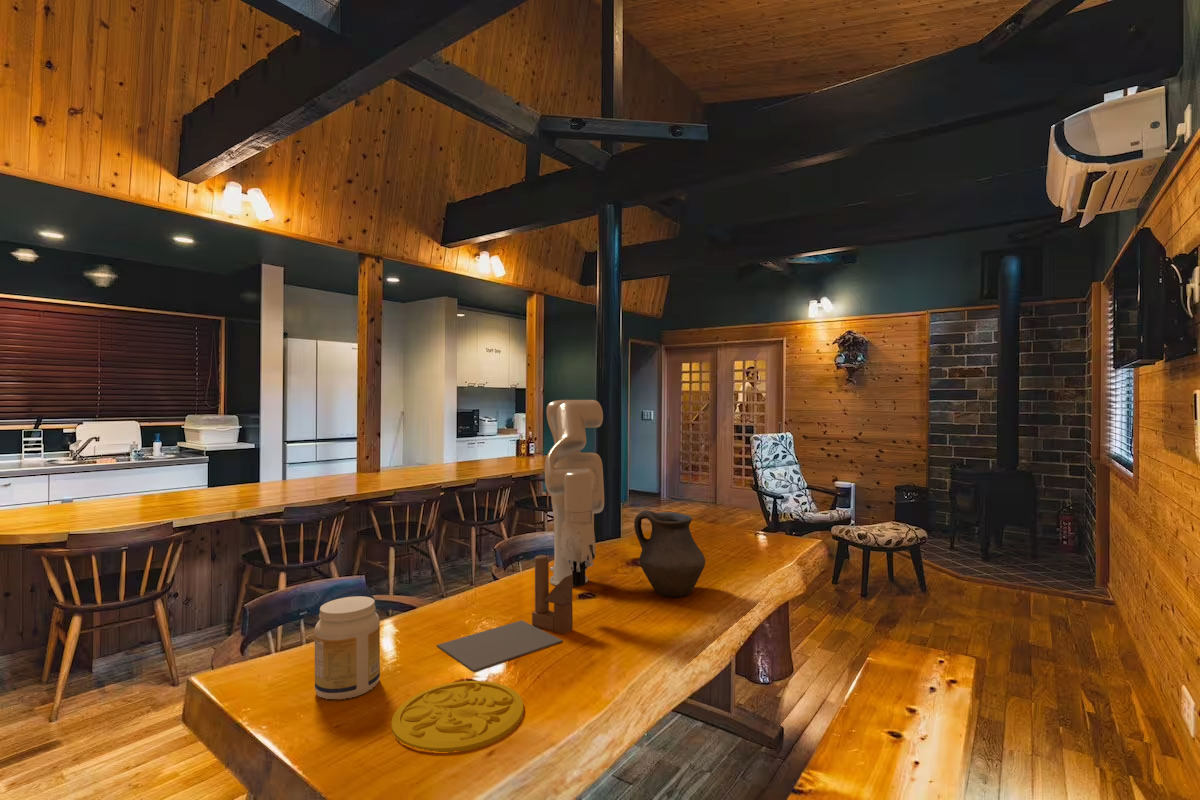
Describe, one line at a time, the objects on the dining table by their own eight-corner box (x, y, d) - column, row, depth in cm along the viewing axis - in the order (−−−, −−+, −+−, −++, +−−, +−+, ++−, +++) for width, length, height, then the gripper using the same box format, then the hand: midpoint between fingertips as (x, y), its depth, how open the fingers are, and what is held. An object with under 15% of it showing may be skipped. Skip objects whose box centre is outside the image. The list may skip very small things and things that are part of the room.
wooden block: (564, 634, 143) (564, 562, 143) (531, 626, 148) (531, 556, 149) (573, 629, 146) (572, 559, 146) (540, 621, 152) (540, 554, 152)
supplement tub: (361, 668, 124) (361, 590, 125) (391, 685, 117) (391, 601, 117) (303, 690, 115) (303, 605, 115) (331, 709, 107) (332, 618, 108)
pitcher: (704, 605, 163) (703, 518, 164) (629, 601, 167) (629, 516, 168) (706, 584, 183) (705, 506, 184) (639, 581, 187) (638, 505, 188)
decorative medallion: (445, 679, 120) (445, 669, 120) (545, 698, 112) (545, 688, 112) (361, 739, 98) (361, 727, 98) (477, 768, 90) (477, 756, 90)
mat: (436, 646, 136) (436, 644, 136) (521, 621, 152) (521, 620, 152) (473, 672, 122) (473, 670, 122) (562, 641, 138) (562, 640, 138)
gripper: (550, 515, 157) (551, 582, 156) (585, 522, 145) (586, 594, 145) (572, 511, 162) (572, 576, 161) (607, 518, 150) (607, 588, 150)
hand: (578, 585), depth 153 cm, fingers closed
